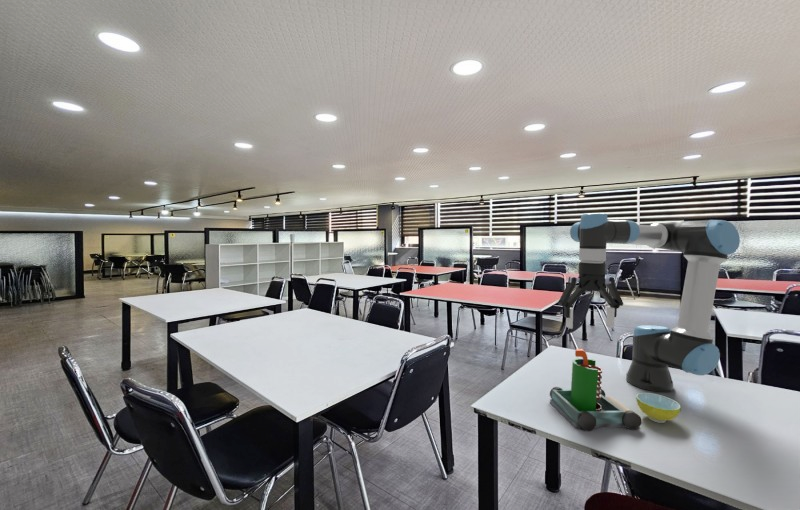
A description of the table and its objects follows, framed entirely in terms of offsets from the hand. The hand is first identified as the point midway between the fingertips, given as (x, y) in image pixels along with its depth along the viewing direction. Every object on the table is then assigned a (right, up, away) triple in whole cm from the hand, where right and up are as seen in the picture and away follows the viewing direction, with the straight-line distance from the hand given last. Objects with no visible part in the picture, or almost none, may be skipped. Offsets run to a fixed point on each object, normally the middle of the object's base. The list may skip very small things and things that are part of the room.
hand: (589, 327), depth 112 cm
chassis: (+2, -29, +2) cm, 29 cm away
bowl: (+21, -29, -1) cm, 36 cm away
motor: (-1, -28, +2) cm, 28 cm away
